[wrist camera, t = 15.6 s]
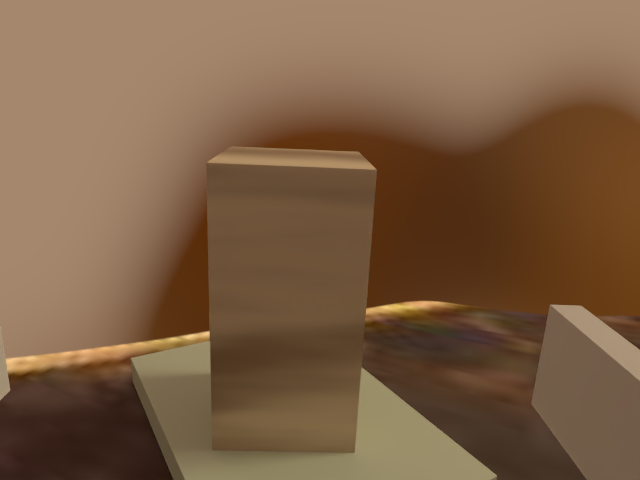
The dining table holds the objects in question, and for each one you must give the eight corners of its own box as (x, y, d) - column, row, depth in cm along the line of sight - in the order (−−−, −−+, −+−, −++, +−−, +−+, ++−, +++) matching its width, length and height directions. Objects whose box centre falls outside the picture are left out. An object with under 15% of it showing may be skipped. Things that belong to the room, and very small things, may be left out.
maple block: (354, 452, 21) (376, 169, 17) (212, 450, 20) (206, 162, 17) (343, 375, 26) (358, 152, 23) (232, 372, 26) (231, 146, 23)
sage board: (491, 505, 20) (497, 476, 20) (244, 649, 14) (243, 612, 14) (302, 340, 33) (302, 320, 33) (132, 381, 27) (130, 358, 27)
